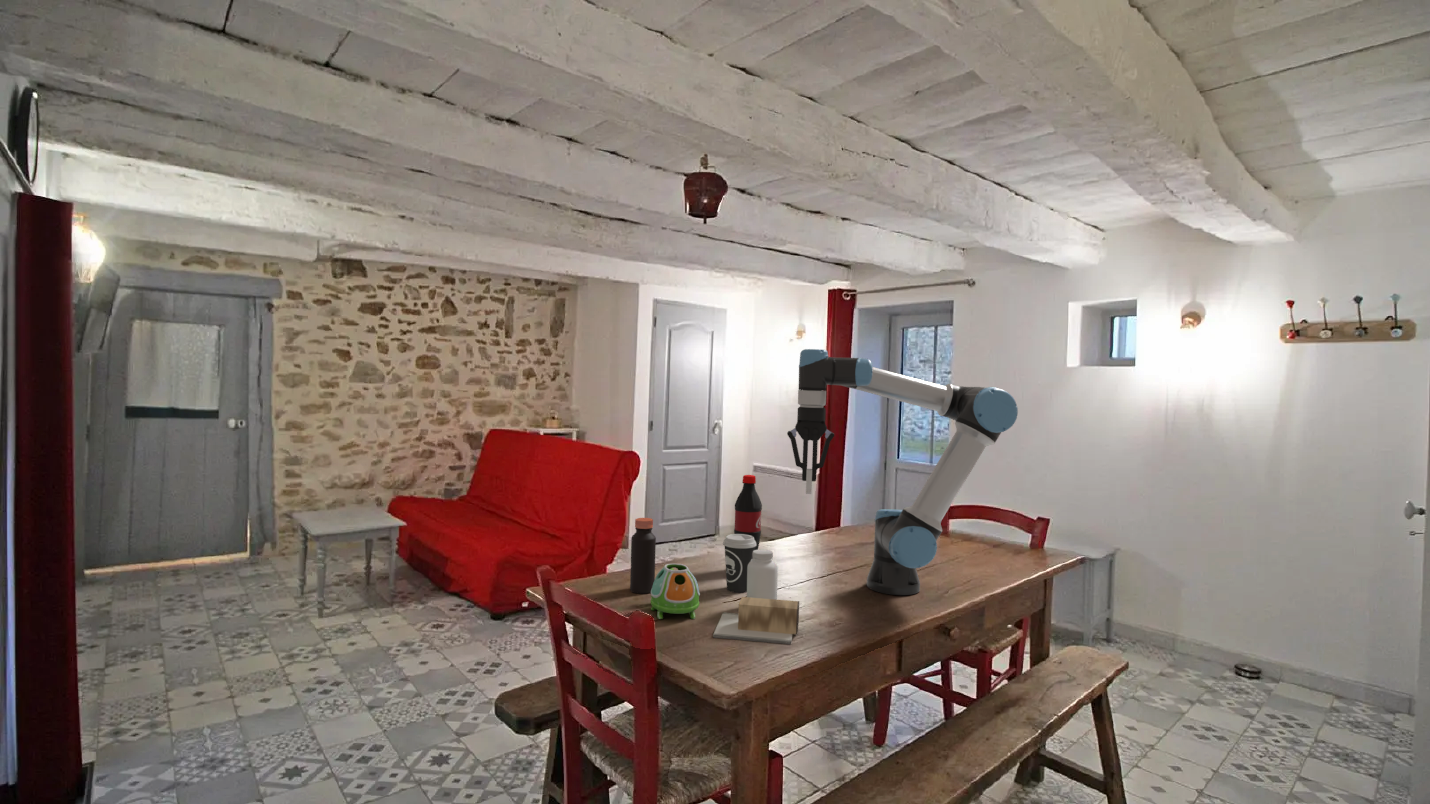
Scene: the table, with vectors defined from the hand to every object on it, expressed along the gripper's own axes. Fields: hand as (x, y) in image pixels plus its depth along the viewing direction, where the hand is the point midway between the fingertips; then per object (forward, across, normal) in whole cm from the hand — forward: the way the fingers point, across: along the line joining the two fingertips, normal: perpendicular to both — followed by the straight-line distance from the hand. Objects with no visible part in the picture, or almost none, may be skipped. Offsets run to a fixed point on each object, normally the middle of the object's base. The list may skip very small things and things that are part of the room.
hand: (808, 492), depth 197 cm
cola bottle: (+30, +19, -25) cm, 43 cm away
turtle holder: (+30, +33, +18) cm, 48 cm away
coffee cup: (+30, +19, -5) cm, 36 cm away
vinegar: (+30, +45, +3) cm, 54 cm away
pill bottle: (+30, +11, +10) cm, 33 cm away
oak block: (+26, +1, +26) cm, 37 cm away
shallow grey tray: (+29, +11, +26) cm, 41 cm away
